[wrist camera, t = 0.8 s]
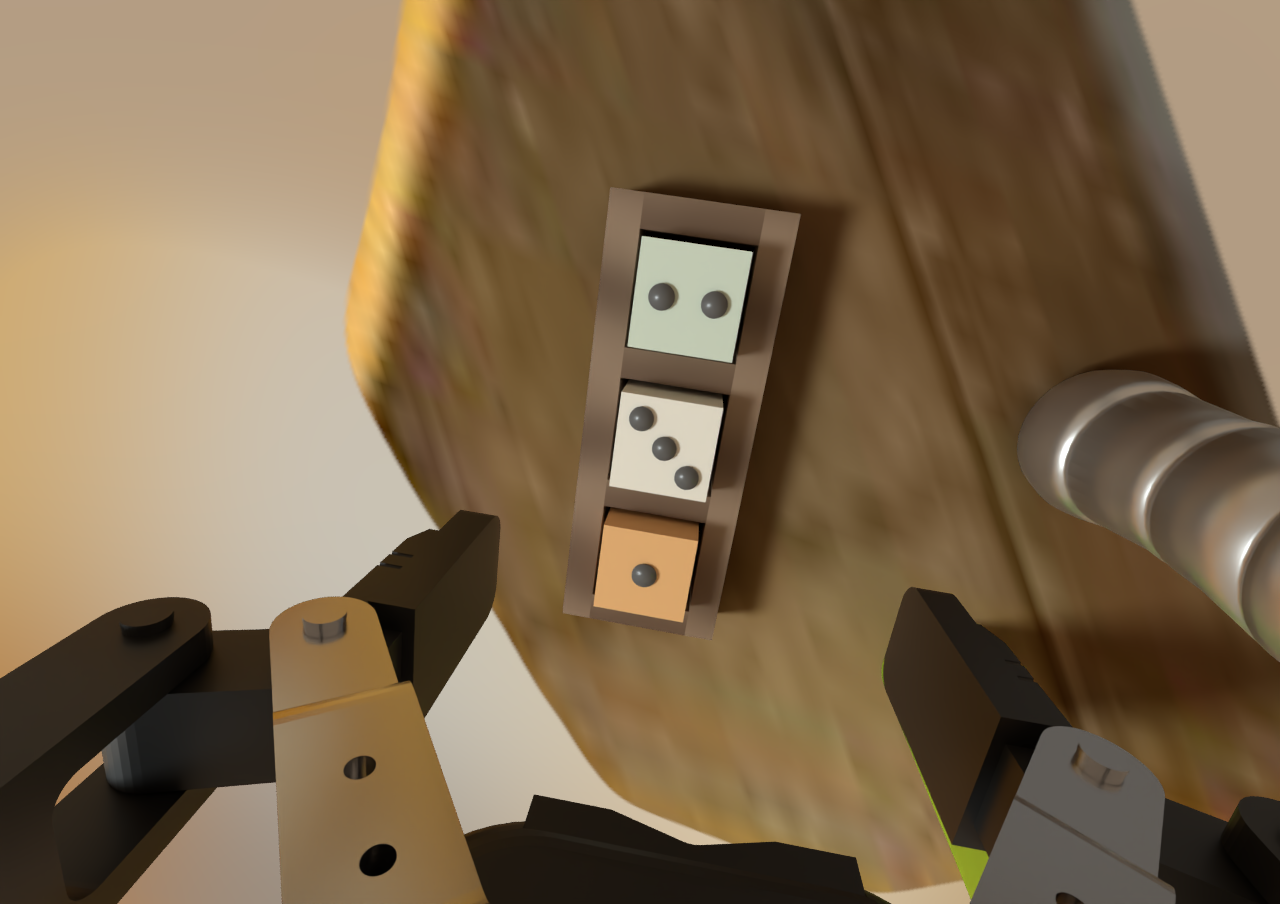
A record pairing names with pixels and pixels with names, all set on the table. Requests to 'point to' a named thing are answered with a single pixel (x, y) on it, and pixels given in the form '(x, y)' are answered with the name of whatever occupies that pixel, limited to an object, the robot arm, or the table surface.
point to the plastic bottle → (1167, 483)
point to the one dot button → (646, 564)
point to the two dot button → (688, 298)
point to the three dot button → (666, 439)
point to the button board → (735, 379)
